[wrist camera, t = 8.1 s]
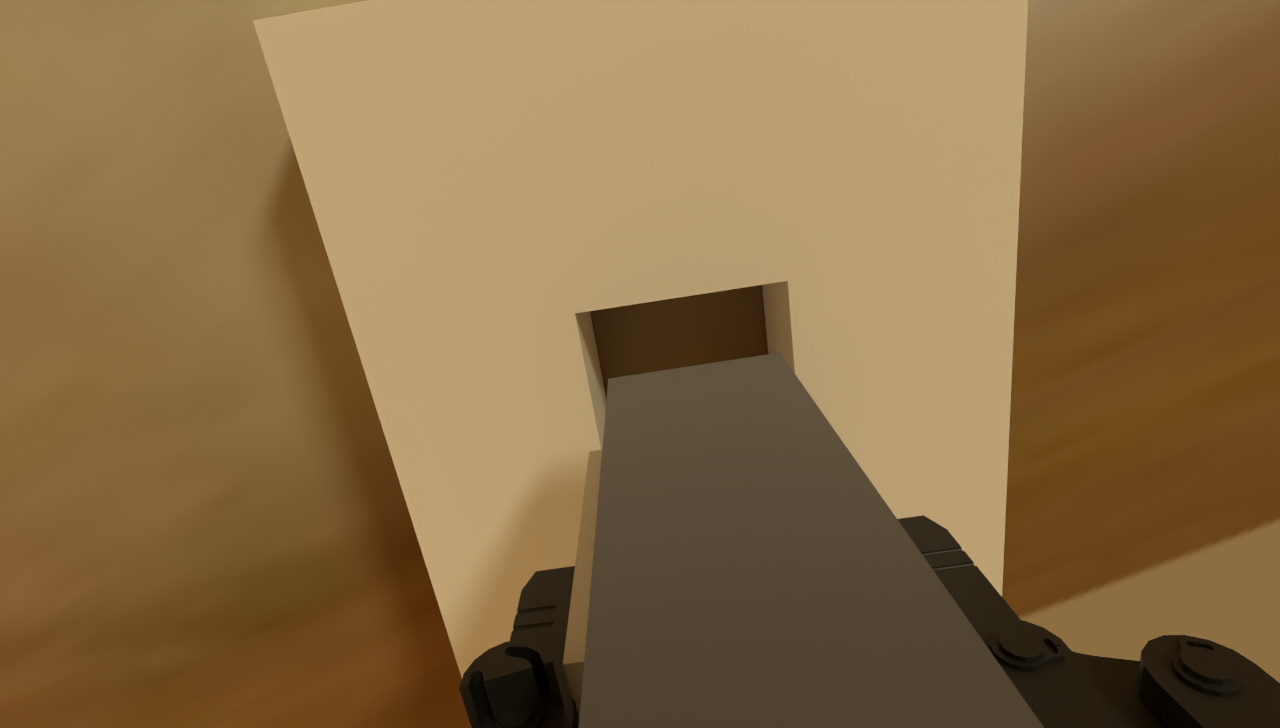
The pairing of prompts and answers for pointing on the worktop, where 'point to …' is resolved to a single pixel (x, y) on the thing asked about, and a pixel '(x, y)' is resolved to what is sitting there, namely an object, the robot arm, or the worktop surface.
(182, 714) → the worktop surface
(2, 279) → the worktop surface
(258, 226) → the worktop surface
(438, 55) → the socket plate
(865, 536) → the plug
